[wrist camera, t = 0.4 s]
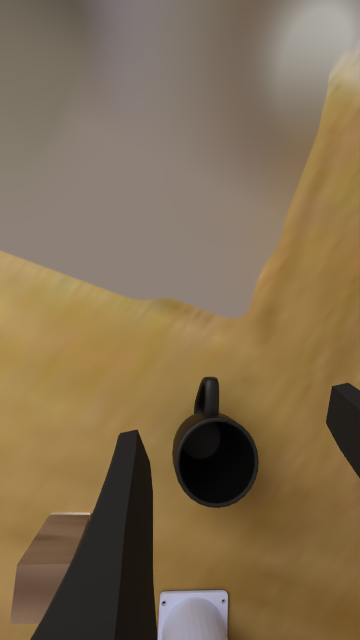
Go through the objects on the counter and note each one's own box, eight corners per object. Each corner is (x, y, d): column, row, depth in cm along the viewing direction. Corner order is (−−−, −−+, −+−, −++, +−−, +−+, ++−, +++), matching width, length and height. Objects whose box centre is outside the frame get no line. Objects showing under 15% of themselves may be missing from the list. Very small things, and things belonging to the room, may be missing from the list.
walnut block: (86, 554, 34) (64, 622, 25) (46, 555, 33) (9, 624, 25) (90, 512, 35) (70, 564, 26) (51, 512, 34) (17, 564, 25)
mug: (230, 374, 39) (256, 377, 29) (232, 470, 37) (260, 506, 28) (168, 374, 38) (175, 377, 29) (167, 472, 36) (174, 510, 27)
